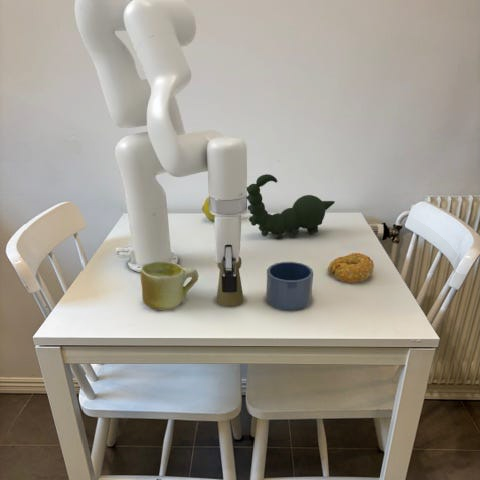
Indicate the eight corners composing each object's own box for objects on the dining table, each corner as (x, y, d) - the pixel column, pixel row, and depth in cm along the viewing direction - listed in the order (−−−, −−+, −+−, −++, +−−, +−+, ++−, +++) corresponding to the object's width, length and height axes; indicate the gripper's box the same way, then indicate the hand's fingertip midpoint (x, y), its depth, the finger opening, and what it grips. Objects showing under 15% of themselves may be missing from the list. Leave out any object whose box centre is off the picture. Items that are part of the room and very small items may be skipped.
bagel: (334, 263, 123) (336, 245, 121) (377, 271, 119) (380, 253, 116) (321, 278, 116) (322, 260, 113) (366, 288, 111) (369, 269, 109)
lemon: (203, 225, 147) (202, 199, 143) (201, 216, 154) (199, 191, 150) (238, 223, 149) (238, 197, 145) (234, 214, 155) (234, 190, 151)
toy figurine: (255, 249, 135) (340, 235, 138) (249, 182, 125) (341, 168, 128) (248, 236, 143) (329, 223, 146) (242, 173, 133) (329, 160, 136)
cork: (240, 308, 104) (240, 261, 98) (213, 305, 105) (211, 259, 99) (246, 295, 109) (245, 250, 103) (220, 292, 110) (218, 248, 104)
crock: (267, 311, 103) (268, 281, 99) (265, 289, 111) (266, 261, 108) (313, 310, 103) (316, 281, 99) (307, 289, 111) (309, 261, 108)
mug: (132, 308, 100) (138, 261, 98) (140, 299, 110) (147, 256, 108) (190, 318, 101) (198, 272, 99) (193, 308, 111) (200, 266, 109)
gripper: (211, 191, 103) (214, 268, 112) (206, 218, 88) (210, 304, 98) (246, 191, 103) (246, 268, 112) (247, 218, 88) (247, 304, 98)
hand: (229, 284), depth 105 cm, fingers open, 5 cm apart
